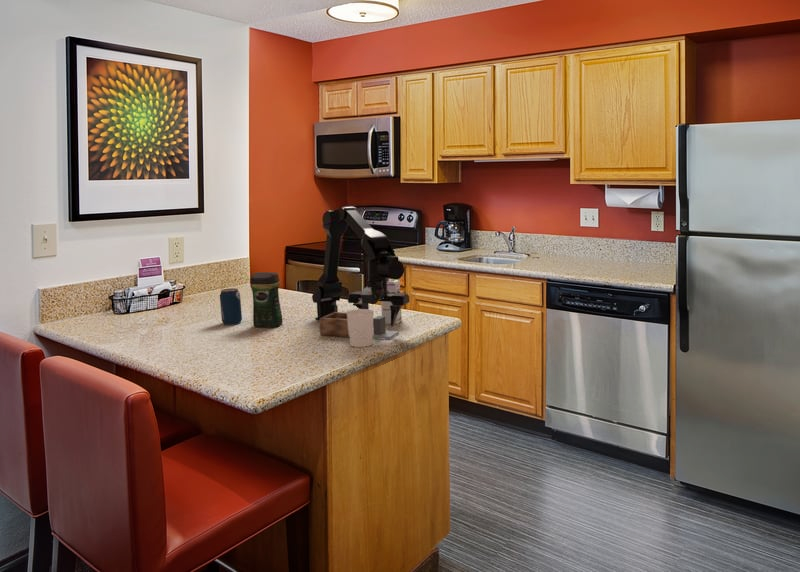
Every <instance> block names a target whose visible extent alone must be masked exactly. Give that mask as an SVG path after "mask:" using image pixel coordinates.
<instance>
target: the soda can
mask: <svg viewBox="0 0 800 572" xmlns="http://www.w3.org/2000/svg"><path fill="white" fill-rule="evenodd" d="M238 289H239V288H234V287H233V288H231V287H230V288H223V289H221V290H220V294H219V301H220V302H219V305H220V316H221V322H222V323H223V324H224V325H225V326H234V325H238V324H240V323H241V322H242V321H243V316H242V315H243V314H242V303H241V302H242V301H241V300H242V299H241V293H240V291H239V290H238Z"/></svg>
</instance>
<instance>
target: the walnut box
mask: <svg viewBox="0 0 800 572" xmlns="http://www.w3.org/2000/svg"><path fill="white" fill-rule="evenodd" d="M319 331H320V336H321V337H333V336H335V338H347V337H349V331H348V323H347V311H346V312H343V311H342V312H341V311H338V312H333V313H331V314H328V315H326V316H324V317H322V318H320V320H319Z"/></svg>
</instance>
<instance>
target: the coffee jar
mask: <svg viewBox="0 0 800 572" xmlns="http://www.w3.org/2000/svg"><path fill="white" fill-rule="evenodd" d="M280 283H281V282H280V278H279V274H278V272H271V271H264V272H263V271H262V272H261V271H260V272H255V273H252V274H251V275H250V279H249V287H250V289H251V291H252V303H253V304H252V309H253V310H252V311H253V312H252V323H253V324H252V325H253V326H254V327H256V328H274V327H279V326H281V325H282V324H283V315H282V309H281V302H280V295H279V287H280Z"/></svg>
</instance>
